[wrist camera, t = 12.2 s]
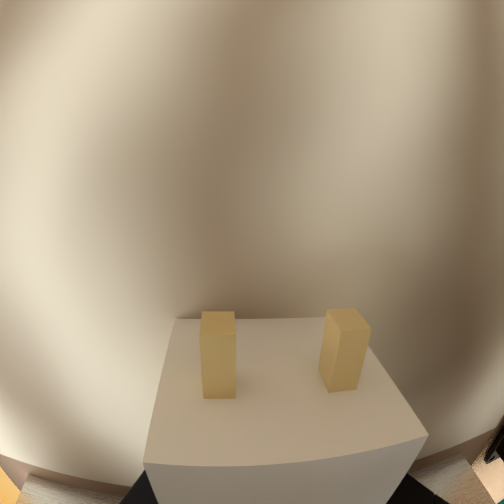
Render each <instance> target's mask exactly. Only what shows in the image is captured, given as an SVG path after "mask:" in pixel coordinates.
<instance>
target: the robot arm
mask: <svg viewBox="0 0 504 504" xmlns="http://www.w3.org/2000/svg"><path fill="white" fill-rule="evenodd" d="M499 457H500V458H501V459H502V460H503V462H504V429H503V430H502V432H501V434H500V435H499V437H498V438H497V440H496V441H495V443H494V444H493V446H492V447H491V449H490V450H489V452H488V453H487V455H486V456H485V457H484V461H485V462H486V464H488V463H490V462H492V461H494V460H496V459H497V458H499ZM119 504H158V501H157V499H156V496H155V494H154V491H153V489H152V486H151V484H150V481H149V479H148V476H147V473H146V471H145V470H144V471H143V472H142V474H141V475H140V476H139V478H138V479H137V480H136V482H135V483H134V484H133V486H132V487H131V488H130V490H129V491H128V492H127V494H126V495H125V496H124V498H123V499H122V500H121V502H120V503H119ZM386 504H450V503H448V502H447V501H445V500H444V499H442V498H441V497H440V496H438V495H437V494H435V495H434V492H432V491H431V490H430V489H428V488H427V487H426V486H424V485H423V484H421V483H420V482H419V481H417V480H416V479H415V478H413V477H412V476H411V475H409V474H408V473H406V475H405V476H404V478H403V479H402V481H401V482H400V484H399V485H398V487H397V488H396V490H395V491H394V493H393V494H392V496H391V497H390V498H389V500H388V501H387V503H386Z"/></svg>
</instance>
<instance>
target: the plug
mask: <svg viewBox="0 0 504 504" xmlns="http://www.w3.org/2000/svg"><path fill="white" fill-rule="evenodd" d="M371 329H372V328H371V327H370V326H369V325H368V323H367V322H366V321H365V320H364V318H363V317H362V316H361V315H360V313H359V312H358V311H357V310H356V308H348V309H327V315H326V317H306V318H272V319H235V315H234V311H202V315H201V319H181V318H175V321H174V324H173V328H172V332H171V336H170V340H169V344H168V348H167V352H166V356H165V361H164V365H163V369H162V373H161V377H160V382H159V386H158V390H157V395H156V399H155V404H154V408H153V413H152V418H151V422H150V427H149V432H148V437H147V442H146V447H145V452H144V457H143V465H144V468H145V471H146V473H147V476H148V479H149V481H150V484H151V486H152V489H153V491H154V494H155V496H156V499H157V501H158V504H386V503H387V501H388V500H389V498H390V497H391V496H392V494H393V493H394V491H395V490H396V488H397V487H398V485H399V484H400V482H401V481H402V479H403V478H404V476H405V475H406V473H407V472H408V470H409V468H410V467H411V465H412V464H413V462H414V460H415V459H416V457H417V455H418V453H419V452H420V450H421V448H422V447H423V445H424V443H425V441H426V439H427V438H428V436H429V434H428V432H427V431H426V429H425V428H424V426H423V425H422V423H421V422H420V420H419V419H418V417H417V416H416V414H415V413H414V411H413V410H412V408H411V407H410V405H409V404H408V402H407V401H406V400H405V398H404V397H403V395H402V394H401V392H400V391H399V389H398V388H397V386H396V385H395V383H394V382H393V381H392V379H391V378H390V376H389V375H388V373H387V372H386V370H385V369H384V368H383V366H382V365H381V363H380V362H379V360H378V359H377V358H376V356H375V355H374V353H373V352H372V350H371V349H370V348H369V346H368V342H369V338H370V334H371Z"/></svg>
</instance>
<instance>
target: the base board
mask: <svg viewBox="0 0 504 504" xmlns="http://www.w3.org/2000/svg"><path fill="white" fill-rule="evenodd" d="M348 308H356V310H357V311H358V312H359V313H360V315H361V316H362V317H363V318H364V320H365V321H366V322H367V323H368V325H369V326H370V327H371V328H372V329H371V334H370V338H369V342H368V346H369V348H370V349H371V350H372V352H373V353H374V355H375V356H376V358H377V359H378V360H379V362H380V363H381V365H382V366H383V368H384V369H385V370H386V372H387V373H388V375H389V376H390V378H391V379H392V381H393V382H394V383H395V385H396V386H397V388H398V389H399V391H400V392H401V394H402V395H403V397H404V398H405V400H406V401H407V402H408V404H409V405H410V407H411V408H412V410H413V411H414V413H415V414H416V416H417V417H418V419H419V420H420V422H421V423H422V425H423V426H424V428H425V429H426V431H427V432H428V434H429V436H428V438H427V439H426V441H425V443H424V445H423V447H422V448H421V450H420V452H419V453H418V455H417V457H416V459H415V460H414V462H413V464H412V465H411V467H410V468H409V470H408V472H407V473H409V472H412V471H415V470H418V469H421V468H424V467H427V466H429V465H432V464H435V463H437V462H440V461H442V460H445V459H448V458H450V457H452V456H455V455H457V454H460V453H462V454H463V456H464V457H465V459H466V460H467V461H468V463H469V464H470V466H471V465H472V463H473V462H474V460H475V459H476V458H477V456H478V455H479V453H480V452H481V450H482V449H483V447H484V446H485V444H486V443H487V441H488V440H489V438H490V437H491V435H492V433H493V432H494V430H495V428H496V427H497V425H498V423H499V422H500V420H501V418H502V417H503V415H504V0H0V466H1V468H2V469H3V470H4V472H5V473H6V474H7V475H8V477H9V478H10V479H11V480H12V482H13V483H14V484H15V485H16V486H17V488H18V489H19V490H20V491H21V490H22V488H23V485H24V483H25V480H26V478H27V476H28V474H31V475H34V476H37V477H40V478H44V479H47V480H51V481H54V482H58V483H62V484H65V485H69V486H73V487H78V488H82V489H87V490H91V491H96V492H101V493H107V494H113V495H119V496H125V495H126V494H127V492H128V491H129V490H130V488H131V487H132V486H133V484H134V483H135V482H136V480H137V479H138V478H139V476H140V475H141V474H142V472H143V471H144V470H145V468H144V465H143V457H144V452H145V447H146V442H147V437H148V432H149V427H150V422H151V418H152V413H153V408H154V404H155V399H156V395H157V390H158V386H159V382H160V377H161V373H162V369H163V365H164V361H165V356H166V352H167V348H168V344H169V340H170V336H171V332H172V328H173V324H174V321H175V318H181V319H201V315H202V311H234V315H235V319H272V318H306V317H326V315H327V309H348Z"/></svg>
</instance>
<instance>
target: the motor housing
mask: <svg viewBox="0 0 504 504" xmlns="http://www.w3.org/2000/svg"><path fill="white" fill-rule="evenodd" d="M408 474H409V475H411V476H412V477H413V478H415V479H416V480H417V481H419V482H420V483H421V484H423V485H424V486H426V487H427V488H428V489H430V490H431V491H432V492H434V495H435V494H437V495H438V496H440V497H441V498H442V499H444V500H445V501H447V502H448V503H450V504H495V502H494V501H493V499H492V497H491V496H490V494H489V493H488V491H487V490H486V488H485V487H484V485H483V484H482V482H481V481H480V479H479V478H478V476H477V475H476V473H475V472H474V470H473V469H472V467H471V466H470V464H469V463H468V461H467V460H466V459H465V457H464V456H463V454H462V453H460V454H457V455H455V456H452V457H450V458H448V459H445V460H442V461H440V462H437V463H435V464H432V465H429V466H427V467H424V468H421V469H418V470H415V471H412V472H409V473H408ZM123 498H124V496H119V495H113V494H107V493H101V492H96V491H91V490H87V489H82V488H78V487H73V486H69V485H65V484H62V483H58V482H54V481H51V480H47V479H44V478H40V477H37V476H34V475H31V474H28V476H27V478H26V480H25V483H24V485H23V488H22V490H21V492H20V495H19V497H18V500H17V502H16V504H119V503H120V502H121V500H122V499H123Z"/></svg>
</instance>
